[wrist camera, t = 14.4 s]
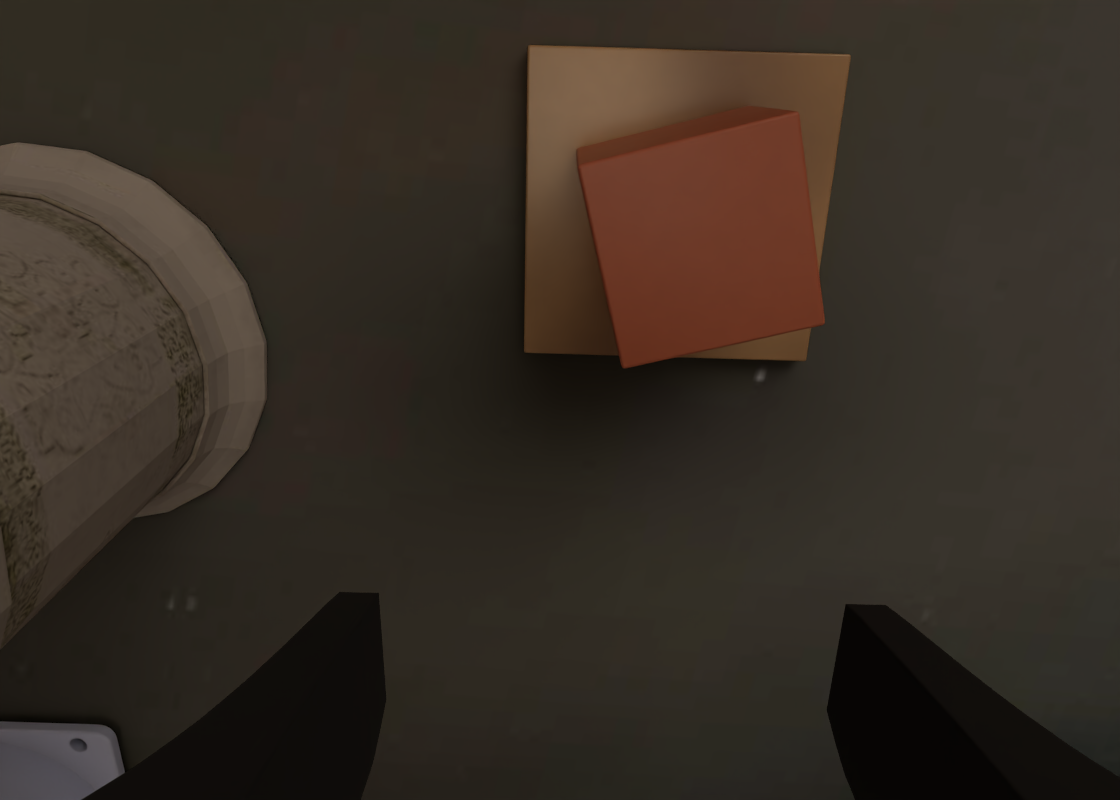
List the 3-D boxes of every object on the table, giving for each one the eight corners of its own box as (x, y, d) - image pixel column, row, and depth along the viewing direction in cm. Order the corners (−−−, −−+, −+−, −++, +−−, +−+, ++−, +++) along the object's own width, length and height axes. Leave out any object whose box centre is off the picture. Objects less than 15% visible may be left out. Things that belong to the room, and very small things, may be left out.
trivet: (524, 347, 20) (523, 353, 20) (528, 45, 18) (527, 44, 17) (801, 355, 20) (806, 361, 20) (844, 55, 18) (851, 54, 17)
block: (612, 315, 20) (622, 370, 16) (575, 148, 18) (576, 165, 14) (777, 278, 19) (826, 325, 15) (751, 104, 18) (800, 109, 14)
